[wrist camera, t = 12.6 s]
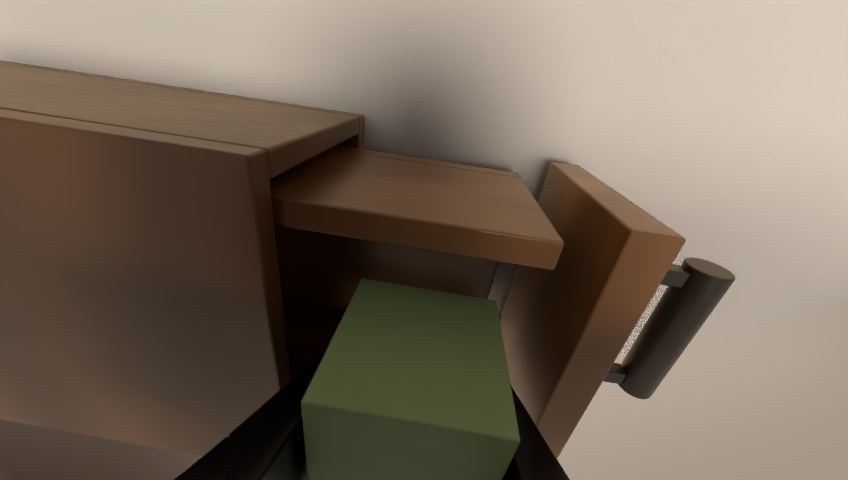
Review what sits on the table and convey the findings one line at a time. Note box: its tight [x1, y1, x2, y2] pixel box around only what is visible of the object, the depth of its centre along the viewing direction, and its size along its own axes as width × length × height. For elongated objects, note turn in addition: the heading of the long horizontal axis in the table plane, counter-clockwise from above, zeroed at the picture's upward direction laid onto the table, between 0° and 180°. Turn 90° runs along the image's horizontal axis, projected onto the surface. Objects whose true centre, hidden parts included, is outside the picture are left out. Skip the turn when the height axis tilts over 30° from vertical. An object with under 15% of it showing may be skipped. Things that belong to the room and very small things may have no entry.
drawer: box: [269, 145, 735, 459], centre depth 12 cm, size 20×10×7 cm, turn 83°
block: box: [301, 279, 520, 480], centre depth 8 cm, size 4×4×4 cm
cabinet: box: [0, 61, 364, 456], centre depth 12 cm, size 16×11×8 cm
